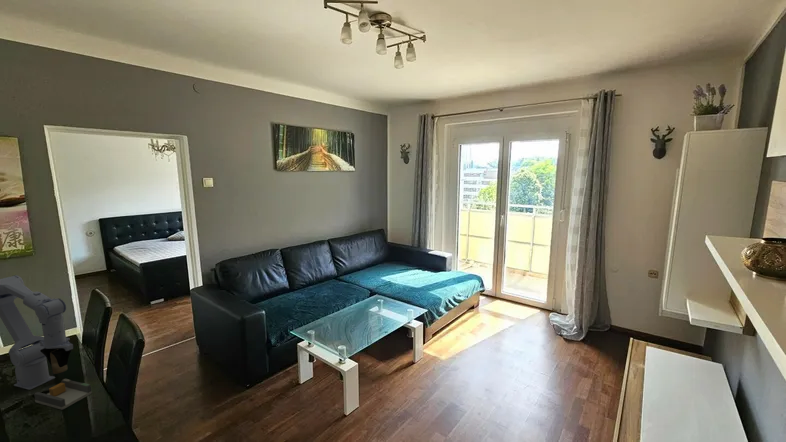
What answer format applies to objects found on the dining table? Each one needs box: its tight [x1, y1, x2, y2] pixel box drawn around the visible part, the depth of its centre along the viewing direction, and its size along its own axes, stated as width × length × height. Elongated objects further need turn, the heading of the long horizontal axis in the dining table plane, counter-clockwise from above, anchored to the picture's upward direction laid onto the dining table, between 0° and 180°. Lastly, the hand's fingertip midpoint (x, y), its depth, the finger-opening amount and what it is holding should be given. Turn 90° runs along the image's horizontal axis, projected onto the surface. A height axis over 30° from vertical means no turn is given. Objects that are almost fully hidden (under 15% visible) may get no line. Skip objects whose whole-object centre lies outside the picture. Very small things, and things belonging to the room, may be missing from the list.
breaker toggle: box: [48, 382, 66, 396], centre depth 121 cm, size 2×4×3 cm, turn 165°
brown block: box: [50, 349, 68, 375], centre depth 125 cm, size 4×4×8 cm
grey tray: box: [33, 378, 93, 410], centre depth 121 cm, size 14×9×4 cm, turn 75°
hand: (59, 364), depth 126 cm, fingers closed on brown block, 4 cm apart
